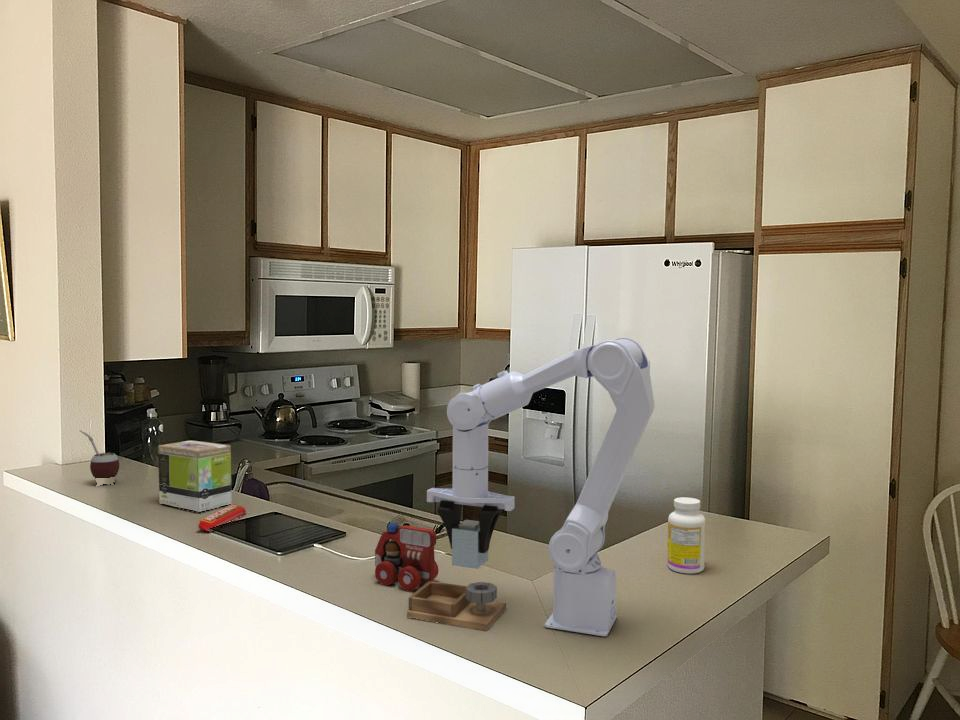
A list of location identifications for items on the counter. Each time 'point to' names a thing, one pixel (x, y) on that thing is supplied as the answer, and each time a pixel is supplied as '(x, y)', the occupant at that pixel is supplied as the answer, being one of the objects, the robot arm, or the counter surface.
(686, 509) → the supplement bottle
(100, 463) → the mate gourd
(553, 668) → the counter surface
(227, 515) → the candy bar
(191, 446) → the tea box
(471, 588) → the wheel
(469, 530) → the grey block
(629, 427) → the robot arm
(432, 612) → the board
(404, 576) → the toy fire truck
